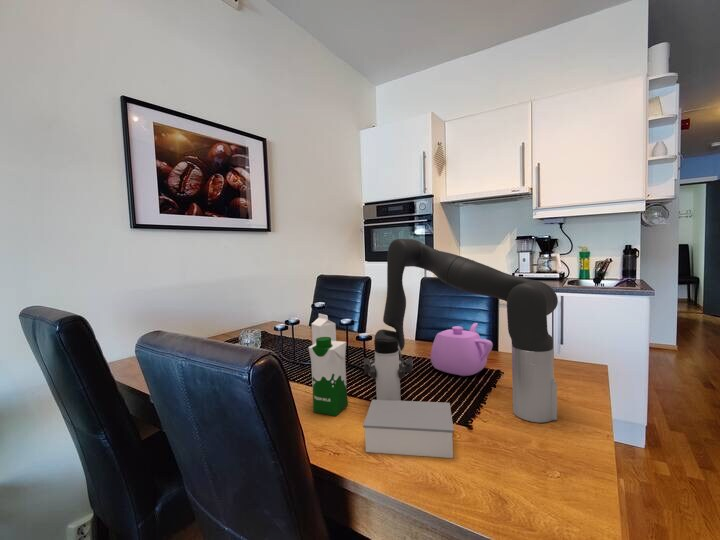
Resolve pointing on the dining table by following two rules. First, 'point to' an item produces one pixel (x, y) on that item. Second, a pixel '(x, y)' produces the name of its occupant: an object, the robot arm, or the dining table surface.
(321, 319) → the milk
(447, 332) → the teapot
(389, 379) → the travel mug
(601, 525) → the dining table surface
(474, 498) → the dining table surface
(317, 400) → the milk carton
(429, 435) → the box with lid
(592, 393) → the dining table surface
